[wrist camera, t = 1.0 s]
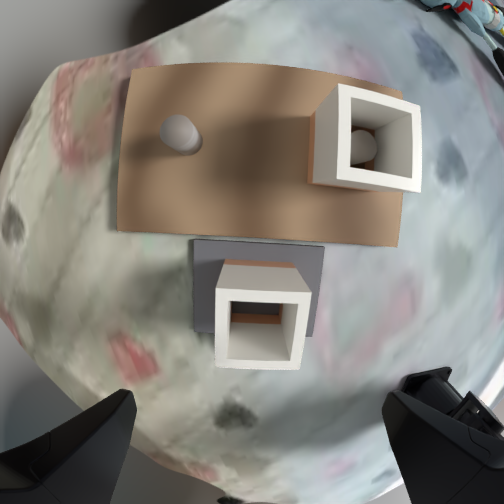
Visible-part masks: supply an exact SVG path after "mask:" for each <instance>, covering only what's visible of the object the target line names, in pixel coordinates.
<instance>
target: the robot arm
mask: <svg viewBox="0 0 504 504" xmlns="http://www.w3.org/2000/svg"><path fill="white" fill-rule="evenodd" d="M451 372H452V369H451V368H450V367H446V368H441V369H437V370H433V371H428V372H423V373H418V374H413V375H410V376H409V377H408V378H407V380H406V383H405V385H404V387H403V390H402V392H401V391H399V390H397V391H392V392H389V393H388V395H387V397H386V400H385V402H384V404H383V406H382V416H383V419H384V423H385V427H386V431H387V434H388V438H389V442H390V445H391V448H392V451H393V453H394V456H395V458H396V461H397V464H398V466H399V469H400V472H401V475H402V477H403V480H404V483H405V485H406V489H407V492H408V494H409V497H410V500H411V503H412V504H504V437H503V436H502V435H501V432H502V431H503V430H504V426H503V425H502V423H501V422H500V421H499V420H498V418H497V417H496V416H495V414H494V413H493V412H492V411H491V410H490V409H489V408H488V407H487V406H486V405H485V404H484V403H483V401H482V400H480V399H479V398H478V397H477V396H476V395H474V394H473V393H472V392H471V391H469V392H468V393H467V394H466V396H465V398H463V397H462V396H461V395H460V394H459V393H458V392H457V390H456V389H455V388H454V387H453V386H452V385H451V384H450V383H449V382H448V378H449V376H450V374H451ZM478 410H479V412H478V413H477V411H478ZM136 413H137V407H136V403H135V399H134V395H133V393H132V391H130V390H126V389H119V390H118V391H116V392H114V393H113V394H111V395H110V396H108V397H106V398H105V399H103V400H102V401H100V402H98V403H97V404H95V405H93V406H92V407H90V408H88V409H87V410H85V411H83V412H82V413H80V414H78V415H77V416H75V417H73V418H72V419H70V420H68V421H67V422H65V423H63V424H61V425H60V426H58V427H56V428H54V429H53V430H51V431H50V432H47V433H45V434H44V435H42V436H40V437H38V438H36V439H34V440H32V441H30V442H27V443H25V444H23V445H20V446H18V447H15V448H13V449H10V450H7V451H4V452H2V453H0V504H110V501H111V498H112V495H113V492H114V489H115V486H116V483H117V480H118V477H119V474H120V471H121V468H122V465H123V462H124V460H125V457H126V454H127V451H128V448H129V444H130V440H131V435H132V431H133V426H134V422H135V418H136Z"/></svg>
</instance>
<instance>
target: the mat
mask: <svg viewBox="0 0 504 504" xmlns="http://www.w3.org/2000/svg"><path fill="white" fill-rule="evenodd" d="M324 249H325V247H324V246H312V245H296V244H279V243H262V242H245V241H227V240H208V239H194V278H193V285H194V332H205V333H215V297H216V286H217V282H218V279H219V276H220V273H221V270H222V267H223V264H224V261H225V259H237V260H255V261H273V262H292V263H293V264H294V266H295V267H296V269H297V270H298V272H299V274H300V275H301V277H302V278H303V280H304V281H305V283H306V284H307V286H308V287H309V289H310V291H311V292H312V294H311V302H310V309H309V316H308V322H307V329H306V335H305V337H312V334H313V328H314V322H315V316H316V309H317V303H318V296H319V289H320V282H321V274H322V266H323V258H324ZM279 306H280V303H264V302H244V301H232V313H241V314H262V315H279Z"/></svg>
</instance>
